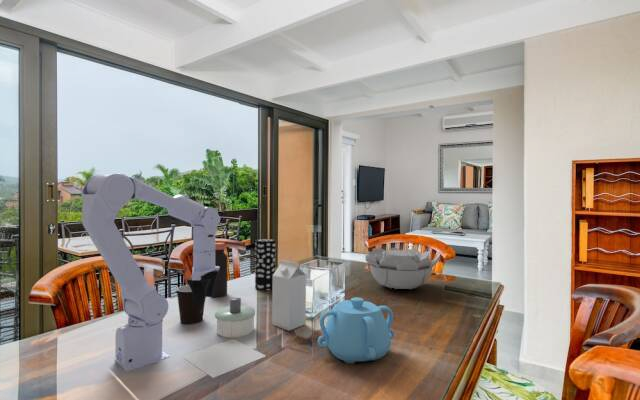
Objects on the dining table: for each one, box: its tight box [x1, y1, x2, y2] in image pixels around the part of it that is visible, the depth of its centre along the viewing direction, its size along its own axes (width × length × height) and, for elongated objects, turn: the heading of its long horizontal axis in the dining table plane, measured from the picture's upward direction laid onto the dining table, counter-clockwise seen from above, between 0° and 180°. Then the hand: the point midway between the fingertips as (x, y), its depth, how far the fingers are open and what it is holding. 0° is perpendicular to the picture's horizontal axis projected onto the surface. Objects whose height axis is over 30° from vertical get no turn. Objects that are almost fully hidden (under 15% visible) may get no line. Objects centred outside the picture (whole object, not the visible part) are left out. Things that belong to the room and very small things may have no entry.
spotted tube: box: [254, 238, 277, 292], centre depth 146 cm, size 8×8×20 cm
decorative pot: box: [317, 297, 395, 364], centre depth 86 cm, size 16×16×14 cm
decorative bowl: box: [365, 247, 441, 290], centre depth 149 cm, size 30×30×15 cm
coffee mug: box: [176, 284, 206, 325], centre depth 110 cm, size 12×9×10 cm
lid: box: [214, 297, 256, 322], centre depth 100 cm, size 11×11×4 cm
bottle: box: [211, 242, 228, 298], centre depth 136 cm, size 7×7×20 cm
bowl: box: [216, 315, 255, 338], centre depth 100 cm, size 10×10×5 cm
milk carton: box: [271, 259, 307, 332], centre depth 105 cm, size 7×7×19 cm
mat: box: [182, 338, 267, 379], centre depth 83 cm, size 14×14×1 cm
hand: (204, 300), depth 96 cm, fingers open, 7 cm apart
